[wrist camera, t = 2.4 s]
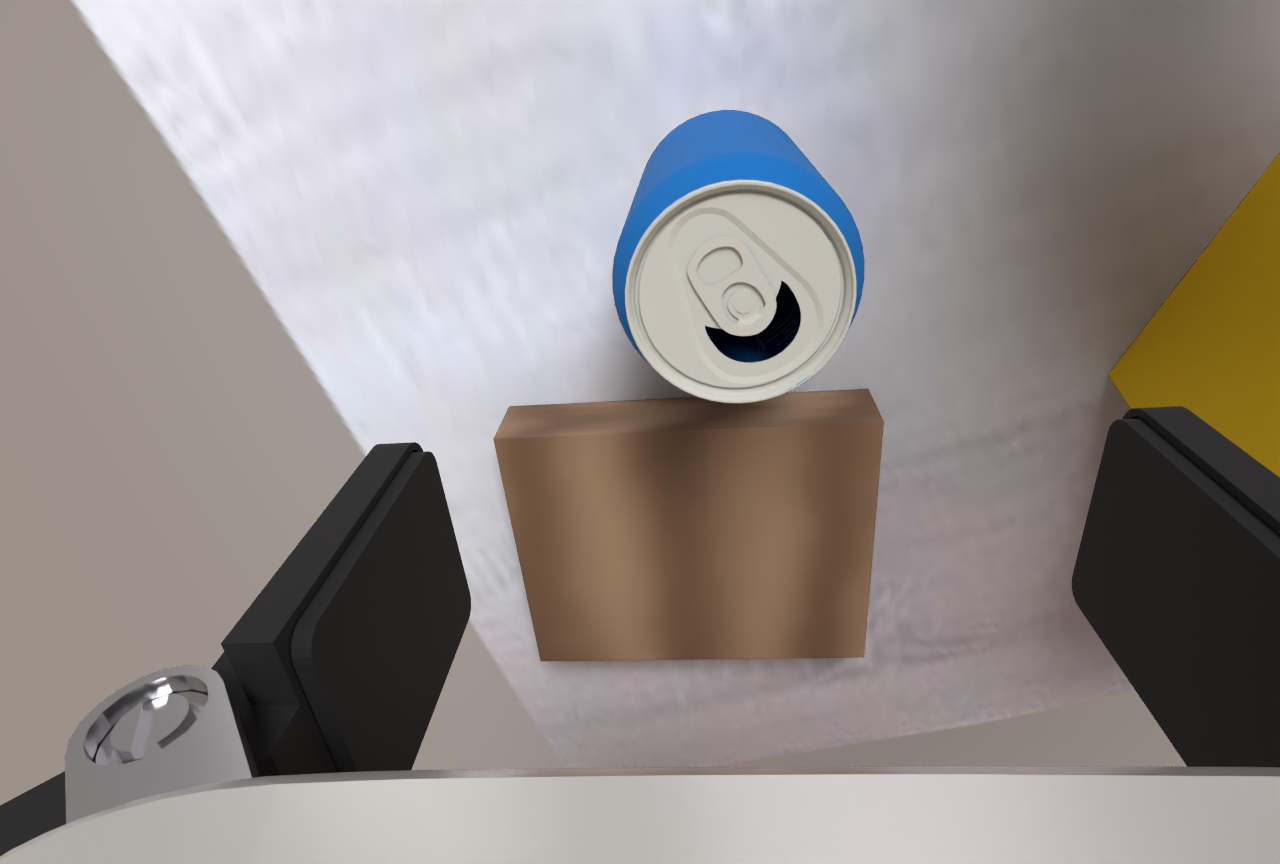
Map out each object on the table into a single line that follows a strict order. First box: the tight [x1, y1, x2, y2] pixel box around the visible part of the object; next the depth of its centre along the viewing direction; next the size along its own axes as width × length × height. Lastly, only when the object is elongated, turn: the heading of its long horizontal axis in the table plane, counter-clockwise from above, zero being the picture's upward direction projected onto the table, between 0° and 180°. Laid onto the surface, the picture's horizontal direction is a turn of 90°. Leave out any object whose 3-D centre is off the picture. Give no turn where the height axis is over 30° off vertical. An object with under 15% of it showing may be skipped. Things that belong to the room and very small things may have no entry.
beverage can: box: [613, 110, 864, 403], centre depth 23 cm, size 6×6×12 cm
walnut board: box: [494, 389, 884, 661], centre depth 34 cm, size 16×13×3 cm
